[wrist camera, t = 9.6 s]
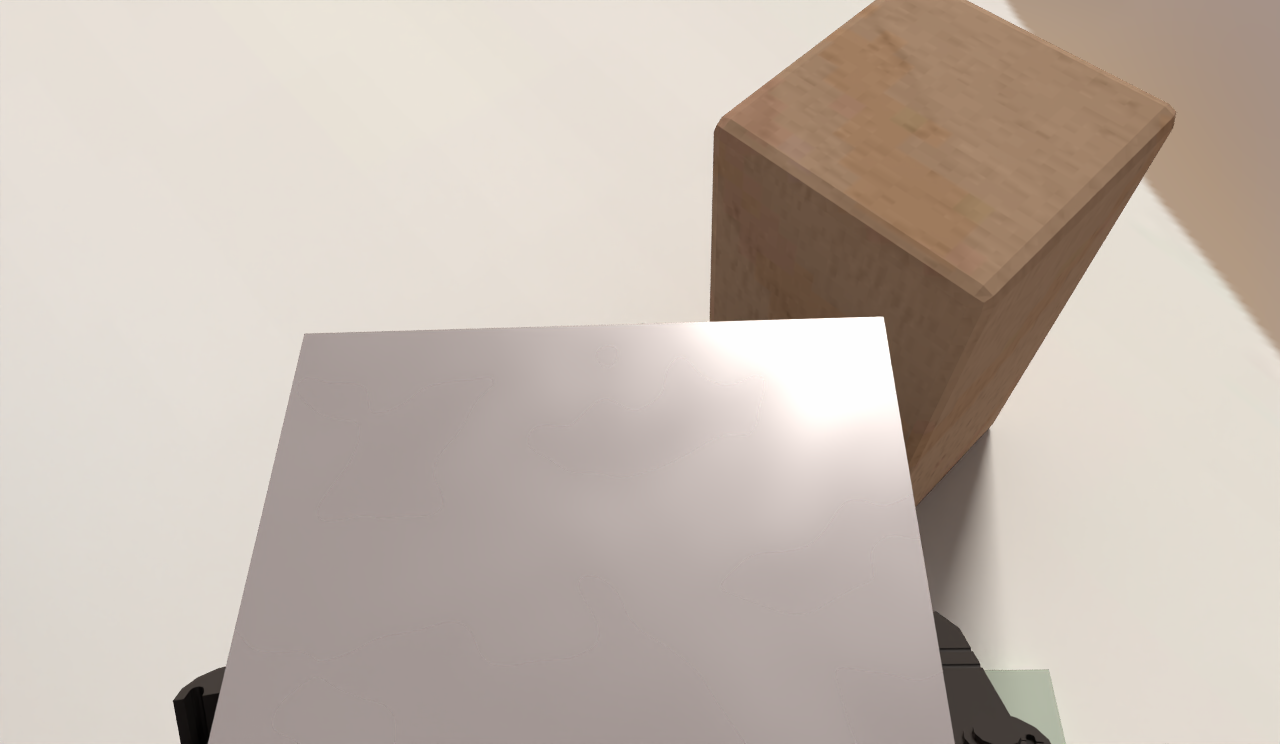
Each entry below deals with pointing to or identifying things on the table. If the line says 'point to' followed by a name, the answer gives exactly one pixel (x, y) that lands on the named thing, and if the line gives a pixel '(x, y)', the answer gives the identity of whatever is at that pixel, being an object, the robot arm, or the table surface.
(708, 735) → the block
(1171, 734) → the table surface
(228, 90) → the table surface
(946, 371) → the wooden block
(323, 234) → the table surface
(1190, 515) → the table surface
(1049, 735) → the sage board
